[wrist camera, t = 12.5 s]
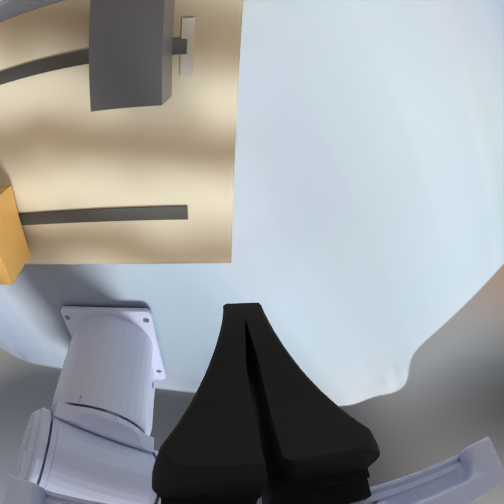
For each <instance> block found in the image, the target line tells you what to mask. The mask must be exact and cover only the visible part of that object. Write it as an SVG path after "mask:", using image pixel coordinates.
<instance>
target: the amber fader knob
mask: <svg viewBox="0 0 504 504" xmlns="http://www.w3.org/2000/svg"><path fill="white" fill-rule="evenodd" d="M30 256H31V254H30V251H29V248H28V245H27V242H26V239H25V235H24V232H23V229H22V225H21V222H20V218H19V215H18V211H17V207H16V204H15V200H14V196H13V191H12V187H11V186H4V187H0V284H10V285H12V284H13V283H14V281H15V279H16V278H17V276H18V275H19V273H20V272H21V270H22V268H23V267H24V265H25V264H26V262H27V261H28V259H29V258H30Z"/></svg>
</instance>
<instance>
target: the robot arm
mask: <svg viewBox="0 0 504 504" xmlns="http://www.w3.org/2000/svg"><path fill="white" fill-rule="evenodd" d="M61 314H62V317H63V319H64V321H65V324H66V326H67V328H68V330H69V333H70V335H71V337H72V340H71V343H70V346H69V349H68V352H67V355H66V358H65V361H64V365H63V368H62V371H61V375H60V378H59V381H58V385H57V389H56V392H55V396H54V400H53V404H52V408H51V409H50V410H48V409H45V408H41V409H40V410H37V411H35V412H33V414H32V415H31V418H30V420H29V423H28V426H27V428H26V432H25V435H24V438H23V442H22V446H21V450H20V455H19V461H18V468H17V477H14V476H11V475H8V476H7V481H6V487H5V494H4V501H3V504H256V503H257V500H258V498H260V497H261V495H262V504H471V503H473V502H475V501H476V500H478V499H480V498H481V497H483V496H484V495H486V494H488V493H489V492H490V491H492V490H494V489H495V488H497V487H498V486H500V485H501V484H503V483H504V470H503V468H502V465H501V463H500V461H499V458H498V456H497V453H496V451H495V449H494V447H493V444H492V442H491V440H490V438H489V437H486V438H484V439H482V440H480V441H478V442H476V443H474V444H472V445H470V446H469V447H467V448H466V449H464V450H463V451H462V452H460V453H459V455H457V456H455V457H452V458H450V459H448V460H445V461H443V462H441V463H438V464H436V465H434V466H431V467H429V468H426V469H424V470H421V471H419V472H416V473H413V474H411V475H407V476H405V477H402V478H399V479H396V480H393V481H390V482H387V483H384V484H380V485H377V486H373V487H369V484H368V480H367V478H369V472H368V467H369V466H370V465H371V464H372V463H373V462H374V461H376V460H377V458H378V457H379V456H380V451H379V448H378V445H377V442H376V440H375V438H374V436H373V435H372V433H371V431H370V429H368V428H367V427H365V426H364V425H362V424H361V423H359V422H358V421H356V420H355V419H354V418H352V417H351V416H350V415H348V414H347V413H346V412H344V411H343V410H342V409H341V408H339V407H338V406H337V405H336V404H335V403H334V402H333V401H331V400H330V399H329V398H328V397H327V396H326V395H325V394H324V393H323V392H322V391H320V390H319V389H318V387H317V386H316V385H315V384H314V383H313V382H312V381H311V380H310V379H309V378H308V377H307V376H306V375H305V373H304V372H303V371H302V370H301V369H300V367H299V366H298V365H297V364H296V362H295V361H294V360H293V358H292V357H291V356H290V354H289V353H288V352H287V350H286V349H285V347H284V346H283V344H282V343H281V341H280V340H279V338H278V337H277V335H276V333H275V332H274V330H273V328H272V327H271V325H270V323H269V321H268V319H267V317H266V315H265V313H264V311H263V309H262V306H261V305H260V304H259V303H237V304H225V305H224V306H223V320H222V325H221V330H220V334H219V337H218V341H217V344H216V348H215V351H214V353H213V356H212V359H211V361H210V364H209V367H208V369H207V371H206V374H205V376H204V378H203V380H202V382H201V384H200V387H199V388H198V390H197V392H196V394H195V396H194V398H193V400H192V402H191V403H190V405H189V407H188V408H187V410H186V412H185V413H184V415H183V416H182V418H181V419H180V421H179V423H178V424H177V426H176V427H175V428H174V430H173V431H172V433H171V434H170V435H169V436H168V438H167V439H166V440H165V442H164V443H163V444H162V446H161V447H160V450H159V452H158V451H155V450H154V438H153V437H150V436H149V435H150V433H151V429H152V418H153V405H154V392H155V380H163V379H165V378H166V373H165V369H164V365H163V361H162V357H161V353H160V348H159V344H158V340H157V335H156V331H155V326H154V321H153V317H152V312H151V311H150V310H149V309H147V308H107V307H76V306H63V307H62V308H61ZM145 318H147V319H145Z"/></svg>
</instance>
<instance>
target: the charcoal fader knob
mask: <svg viewBox="0 0 504 504" xmlns="http://www.w3.org/2000/svg"><path fill="white" fill-rule="evenodd" d="M174 4H175V0H90V18H89V87H90V107H91V112H93V111H101V110H110V109H119V108H130V107H143V106H159V105H163V104H164V103H165V102H166V101H167V100H168V99H169V98H170V97H171V96H172V47H173V22H174Z"/></svg>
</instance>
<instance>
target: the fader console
mask: <svg viewBox="0 0 504 504" xmlns="http://www.w3.org/2000/svg"><path fill="white" fill-rule="evenodd" d="M242 12H243V0H175V4H174V22H173V47H172V96H171V97H170V98H169V99H168V100H167V101H166V102H165V103H164V104H163V105H159V106H143V107H130V108H119V109H110V110H101V111H93V112H91V107H90V87H89V18H90V0H64V1H61V2H57V3H53V4H50V5H47V6H43V7H40V8H37V9H34V10H31V11H28V12H25V13H23V14H20V15H17V16H14V17H12V18H9V19H7V20H4V21H2V22H0V187H4V186H11V187H12V191H13V196H14V200H15V204H16V207H17V211H18V215H19V218H20V222H21V225H22V229H23V232H24V235H25V239H26V242H27V245H28V248H29V251H30V254H31V256H30V258H29V259H28V261H27V262H26V264H177V263H231V252H232V219H233V190H234V164H235V140H236V118H237V98H238V78H239V60H240V43H241V27H242Z"/></svg>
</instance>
